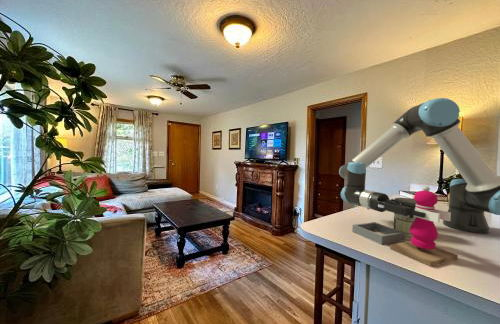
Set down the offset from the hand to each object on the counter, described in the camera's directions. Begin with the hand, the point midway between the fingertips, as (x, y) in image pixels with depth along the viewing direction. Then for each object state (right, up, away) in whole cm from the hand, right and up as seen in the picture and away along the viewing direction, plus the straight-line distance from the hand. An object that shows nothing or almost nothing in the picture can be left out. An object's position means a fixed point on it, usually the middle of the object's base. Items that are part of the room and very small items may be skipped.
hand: (444, 217), depth 63 cm
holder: (-8, -13, +20) cm, 25 cm away
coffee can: (+8, -14, +26) cm, 30 cm away
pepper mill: (-2, -11, +5) cm, 12 cm away
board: (-2, -14, +5) cm, 15 cm away
